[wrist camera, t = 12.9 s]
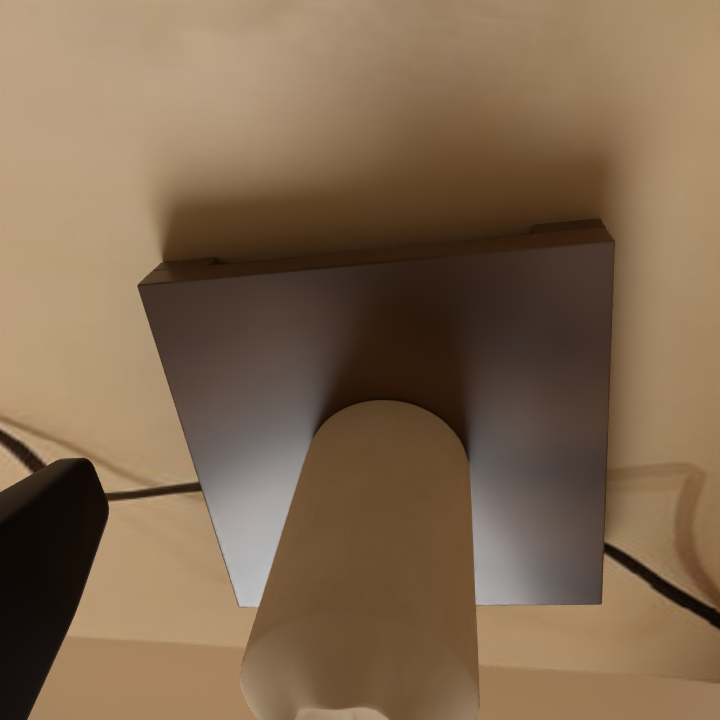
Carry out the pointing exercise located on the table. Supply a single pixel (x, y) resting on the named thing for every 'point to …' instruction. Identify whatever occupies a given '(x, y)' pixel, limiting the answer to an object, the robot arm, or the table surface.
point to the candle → (371, 578)
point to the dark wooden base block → (406, 388)
